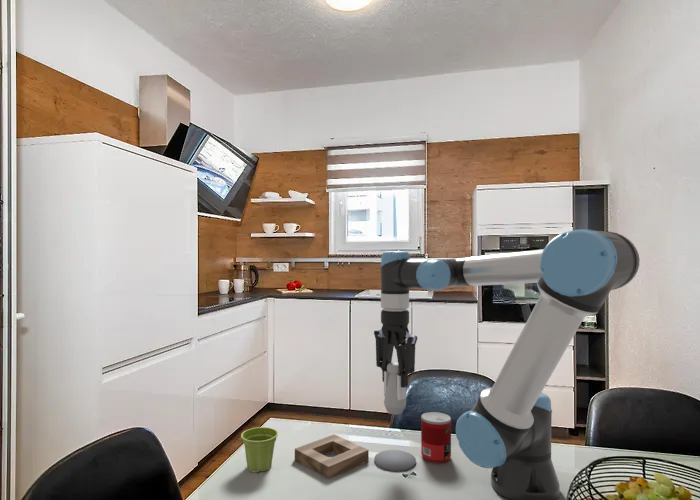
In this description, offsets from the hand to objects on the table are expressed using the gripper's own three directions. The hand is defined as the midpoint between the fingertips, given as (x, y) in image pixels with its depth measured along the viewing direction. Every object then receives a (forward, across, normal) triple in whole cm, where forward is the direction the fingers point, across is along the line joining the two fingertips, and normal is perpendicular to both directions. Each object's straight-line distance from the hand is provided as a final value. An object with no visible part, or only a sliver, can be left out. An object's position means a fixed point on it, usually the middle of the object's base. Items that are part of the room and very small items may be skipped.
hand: (394, 396), depth 122 cm
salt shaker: (+4, 0, 0) cm, 4 cm away
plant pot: (+18, +22, +28) cm, 40 cm away
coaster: (+17, 0, 0) cm, 17 cm away
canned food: (+17, -6, -10) cm, 21 cm away
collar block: (+17, +12, +12) cm, 24 cm away
